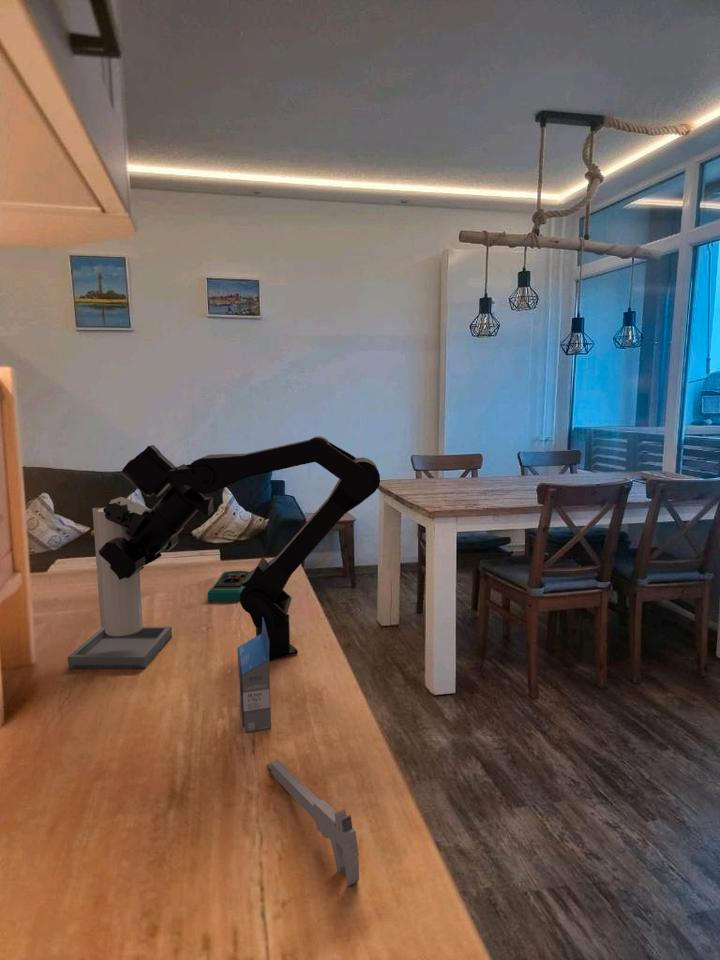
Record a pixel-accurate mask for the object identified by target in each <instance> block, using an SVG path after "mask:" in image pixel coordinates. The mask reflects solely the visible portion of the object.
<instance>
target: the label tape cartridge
mask: <svg viewBox="0 0 720 960" xmlns="http://www.w3.org/2000/svg"><path fill="white" fill-rule="evenodd" d="M265 639H266V641H265ZM237 663H238V664H237V667H238V668H237V669H238V685H239V686H238V687H239V705H240V713H241V714H240V715H241V722H242V730H243V734H251V733H257V732H261V731H262V732H263V731H267V730H268V731H269V730H271V729H272V713H271V712H272V711H271V709H272V708H271V686H270V685H271V684H270V683H271V681H270V661H269V638H268V634H267V630H266V626H265V622H264V619H263V617H262V633H261V634H260V635H258V636H257V637H256V636H255V637H254V638H251V639H250V640H248V641H246V642H244V643H242V644H241V645H239V646H237Z"/></svg>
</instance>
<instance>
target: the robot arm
mask: <svg viewBox="0 0 720 960" xmlns="http://www.w3.org/2000/svg"><path fill="white" fill-rule="evenodd" d="M312 463H317V465H319V466H320V467H322V468H324V469H325V470H326V471H328V472H330V473H331V474H332V475H333V476H335V477H336V478H337V479H338V480H337V481H336V484H335V486H333V488H332V490H331V493H330V494H329V496H328V498H327V499H325V501H324V502H323V503H322V504H321V505H320V506H319V508H318V509H317V510H316V511H315V512H314V514H313V515H312V516H311V517H310V518H309V519H308V520H307V521H306V523H305V524H304V525H303V526H301V529H299V530H298V532H297V533H296V534H295V535H294V536H293V537H292V538H291V540H290V541H289V542H288V543H287V545H285V546H284V547H283V549H282V550H281V551H280V552H279V554H277V556H275V557H274V558H272V559H271V560H269V561H267V559H266V558H264V557H263V556H262V557H261V558H260V560H259V561H258V563H257V565H256V566H255V568H253V570H249V571H248V574H247V576H246V578H245V579H244V581H243V583H242V585H241V586H244V588H243V590H242V591H241V593H240V601H239V603H240V605H241V608H242V609H243V610H244V611H245V612H246V613H248V614H249V616H250V618H251V621H252V623H253V625H254V627H255V637H257V636H258V635H260V634H261V633H262V617H263V619H264V622H265V626H266V630H267V634H268V638H269V662H271V661H273V660H277V659H282V658H286V657H289V656H293V655H296V654H299V653H298V652H299V650H298V649H297V648H296V647H295V646H293V644H291V636H290V635H291V633H290V630H291V629H290V615H289V614H288V613H289V609H290V606H291V602H292V596H291V595H290V594H289V593H287V592H286V591H285V590H284V589H285V587H286V585H287V584H288V582H289V579H290V578H291V576H292V575H293V574H294V572H295V571H296V570H297V569H298V568H299V567H300V565H302V563H304V562H305V560H306V559H307V558H308V556H310V554H311V553H312V552H313V551H314V550H315V549H316V547H317V546H318V545H319V544H320V543H321V542H322V541H323V539H325V537H326V536H327V535H328V533H330V532H331V530H332V529H333V528H334V527H335V526H336V525H337V523H338V522H339V521H340V520H341V519H342V518H343V517H344V516H345V515H346V514H347V513H348V512H350V511H352V510H354V508H356V507H358V506H360V504H362V503H363V502H364V501H366V500H367V499H368V498H369V497H371V496H372V495H373V494H375V492H376V491H377V490H378V489H379V486H380V483H381V475H380V472H379V469H378V467H377V465H376V463H375V462H374V461H373V460H371V459H370V458H366V457H356V456H354V455H352V454H351V453H349V452H347V451H346V450H344V449H342V448H341V447H339V446H337V445H335V444H334V443H332V442H331V441H329V440H328V439H327V438H326V437H323V436H319V435H318V436H317V435H316V436H314V437H312V438H310V439H305V440H301V441H296V442H293V443H287V444H284V445H283V444H282V445H278V446H274V447H270V448H266V449H265V448H264V449H261V450H257V451H253V452H247V453H222V454H221V453H218V454H208V455H205V456H203V457H200V458H198V459H196V460H193V461H192V462H191V463H190V464H185V463H183V464H181V465H179V466H176V465H174V464H173V463H172V462H171V461H170V460H169V459H168V458H167V457H165V456H164V454H162V452H161V451H160V450H159V449H158V448H157V447H156V445H154V444H151V445H147V447H146V448H145V449H144V450H143V451H141V452H139V454H137V455H135V457H134V458H132V459H130V460H129V461H128V462H127V463H126V465H124V467H123V468H122V470H121V472H120V474H121V475H122V476H123V477H124V478H125V479H127V481H129V482H130V483H131V484H132V485H133V486H135V487H136V488H137V489H138V490H139V492H140V491H141V493H143V495H145V497H147V498H148V497H152V496H153V495H154V496H155V497H159V496H161V494H163V493H164V492H165V491H166V490H167V489H168V488H169V487H170V486H171V487H170V489H169V490H168V491H167V492H166V493H165V494H164V495H163V496H162V497H161V499H159V501H158V502H157V503H156V504H155V505H154V506H153V507H151V508H150V509H149V508H148V507H145V506H144V505H143V504H140V503H138V502H136V501H134V500H131V499H128V498H126V497H125V496H124V497H123V496H118V497H116V498H114V499H111V500H110V501H109V502H108V504H107V506H106V508H105V507H103V508H104V509H103V512H104V513H105V518H106V519H107V520H109V521H112V522H114V523H116V524H119V525H121V526H123V527H126V528H128V529H127V530H126V531H125V533H127V534H128V535H129V536H130V537H133V539H131V540H129V541H128V540H126V539H125V538H124V537H120V538H114V539H113V540H111V541H109V542H107V543H105V545H104V546H103V547H102V548H101V549H100V550H99V555H100V556H102V557H103V558H104V559H105V560H106V561H107V562H108V563H109V564H110V565H111V566H110V569H111V570H112V571H113V572H114V573H115V574H116V575H117V576H118V578H119V580H121V579H123V578H130V577H131V576H133V575H134V574H136V573H137V572H140V571H142V570H143V569H144V568H145V567H144V566H147V565H148V564H151V563H152V562H154V561H156V560H157V559H159V558H160V557H162V553H161V552H162V551H164V552H166V553H167V552H169V551H170V550H172V549H174V547H175V546H176V545H177V544H178V543H179V534H180V533H181V532H182V531H183V530H184V529H185V528H184V526H185V525H186V524H187V523H188V522H190V520H191V519H192V518H193V517H194V515H195V514H196V513H197V512H198V511H199V512H200V513H201V514H202V515H203V516H204V517H208V516H210V515H211V514H212V513H213V512H214V510H215V508H214V503H213V502H214V497H213V496H204V495H205V494H207V495H208V494H210V493H214V492H216V491H218V490H220V489H223V488H225V487H229V486H230V485H233V484H234V483H237V482H239V481H241V480H243V479H246V478H249V477H253V476H259V475H263V474H266V473H271V472H276V471H280V470H285V469H290V468H294V467H298V466H302V465H303V466H304V465H308V464H312ZM265 641H266V639H265Z"/></svg>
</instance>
